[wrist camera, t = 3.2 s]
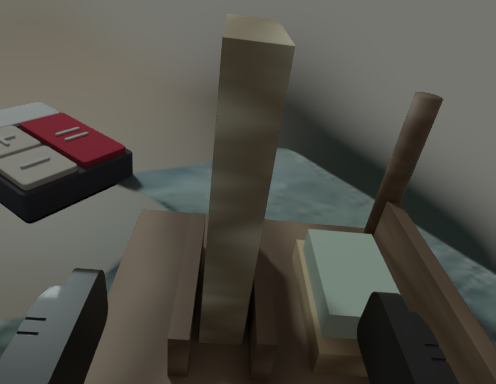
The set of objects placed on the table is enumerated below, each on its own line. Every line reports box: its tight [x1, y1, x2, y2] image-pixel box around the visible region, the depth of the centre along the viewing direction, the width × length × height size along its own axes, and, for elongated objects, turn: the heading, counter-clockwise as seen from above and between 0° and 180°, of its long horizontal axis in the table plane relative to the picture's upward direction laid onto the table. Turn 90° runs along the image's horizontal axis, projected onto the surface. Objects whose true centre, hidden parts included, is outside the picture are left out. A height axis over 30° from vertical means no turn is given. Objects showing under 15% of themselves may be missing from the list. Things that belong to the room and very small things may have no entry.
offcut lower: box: [292, 240, 368, 377], centre depth 23 cm, size 5×9×2 cm, turn 1°
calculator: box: [0, 102, 133, 224], centre depth 36 cm, size 11×4×15 cm
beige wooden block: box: [199, 14, 295, 345], centre depth 19 cm, size 2×6×16 cm, turn 1°
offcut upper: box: [303, 229, 400, 339], centre depth 22 cm, size 4×7×2 cm, turn 1°
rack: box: [84, 92, 496, 384], centre depth 20 cm, size 20×18×14 cm
